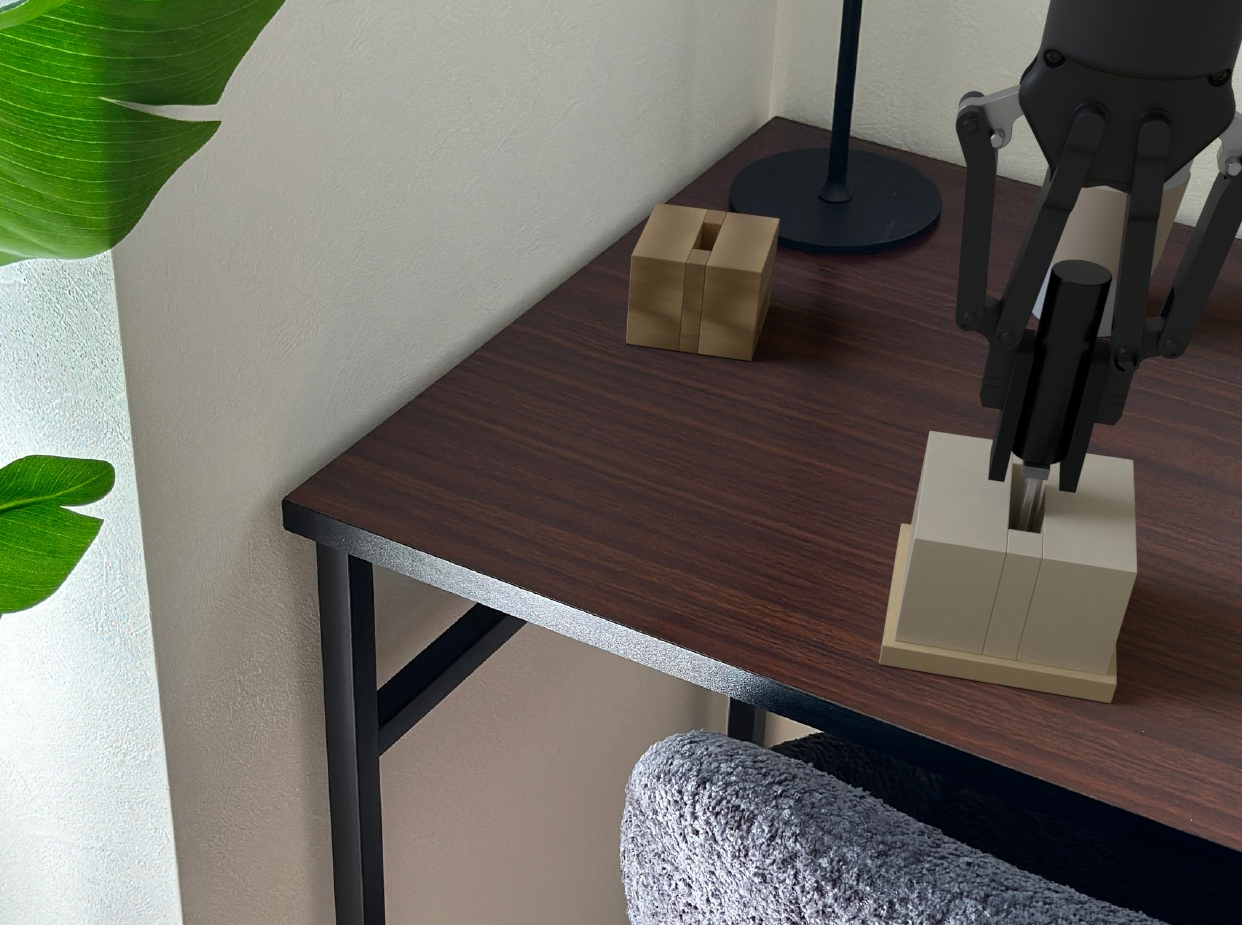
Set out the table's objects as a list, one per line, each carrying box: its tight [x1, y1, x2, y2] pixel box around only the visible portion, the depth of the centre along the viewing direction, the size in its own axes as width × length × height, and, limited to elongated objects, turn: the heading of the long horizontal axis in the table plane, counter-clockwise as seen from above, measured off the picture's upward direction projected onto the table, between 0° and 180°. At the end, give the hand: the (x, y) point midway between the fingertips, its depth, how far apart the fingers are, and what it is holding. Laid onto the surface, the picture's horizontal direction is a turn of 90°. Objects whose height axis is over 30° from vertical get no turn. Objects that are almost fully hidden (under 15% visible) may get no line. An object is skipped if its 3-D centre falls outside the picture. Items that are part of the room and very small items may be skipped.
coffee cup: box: [1032, 158, 1195, 338], centre depth 108 cm, size 9×9×15 cm
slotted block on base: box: [878, 430, 1138, 704], centre depth 84 cm, size 11×11×7 cm
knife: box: [1012, 260, 1112, 532], centre depth 80 cm, size 3×3×18 cm
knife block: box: [625, 202, 781, 362], centre depth 108 cm, size 8×8×6 cm
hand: (1032, 470), depth 81 cm, fingers closed on knife, 2 cm apart
